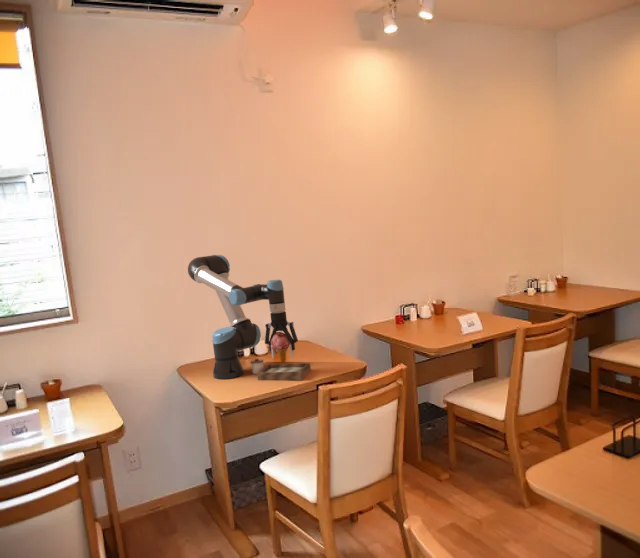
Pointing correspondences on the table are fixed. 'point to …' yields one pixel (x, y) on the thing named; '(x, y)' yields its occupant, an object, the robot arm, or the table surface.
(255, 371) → the sugar pot
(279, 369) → the tray
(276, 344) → the ice cream
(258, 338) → the robot arm
